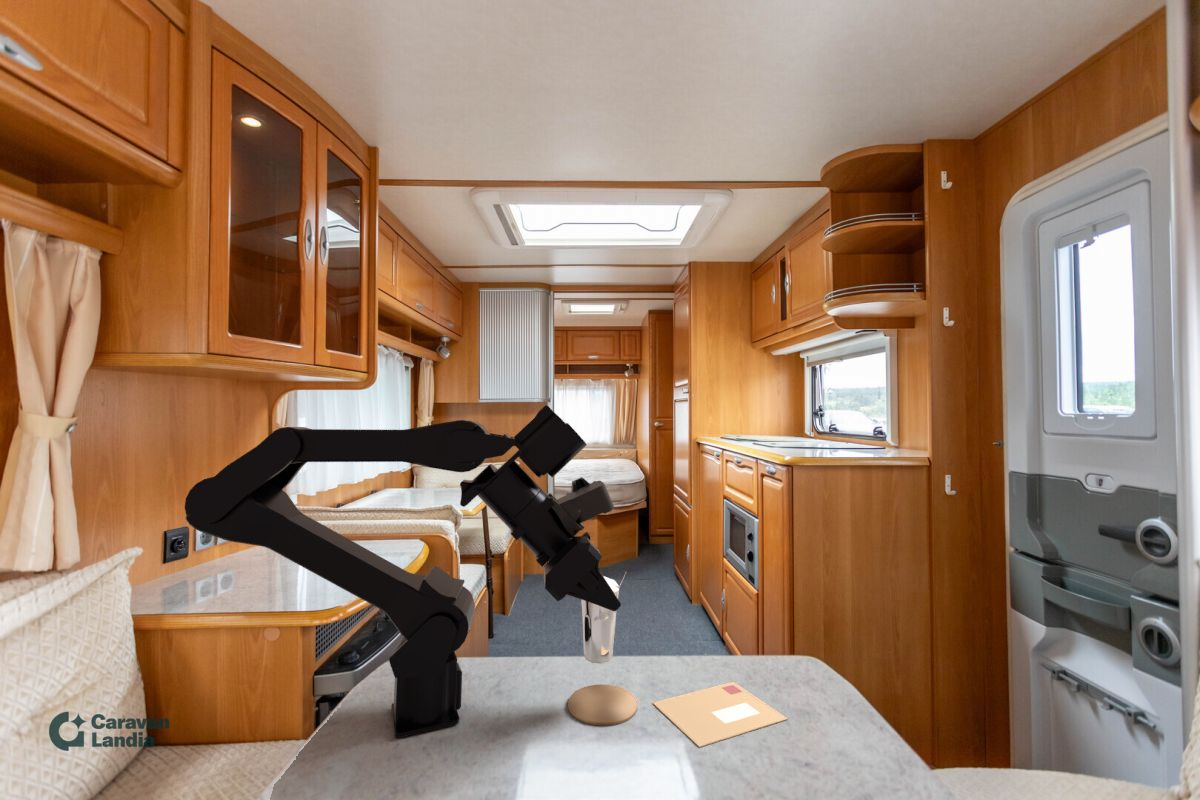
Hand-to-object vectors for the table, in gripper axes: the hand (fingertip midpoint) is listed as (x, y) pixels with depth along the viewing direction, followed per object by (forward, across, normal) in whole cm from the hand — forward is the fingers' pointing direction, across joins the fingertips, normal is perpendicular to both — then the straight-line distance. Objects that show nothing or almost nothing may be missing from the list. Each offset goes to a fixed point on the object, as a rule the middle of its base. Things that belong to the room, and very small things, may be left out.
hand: (614, 601), depth 59 cm
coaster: (+8, 0, +9) cm, 12 cm away
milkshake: (+4, 0, +6) cm, 7 cm away
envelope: (+17, -3, 0) cm, 17 cm away
